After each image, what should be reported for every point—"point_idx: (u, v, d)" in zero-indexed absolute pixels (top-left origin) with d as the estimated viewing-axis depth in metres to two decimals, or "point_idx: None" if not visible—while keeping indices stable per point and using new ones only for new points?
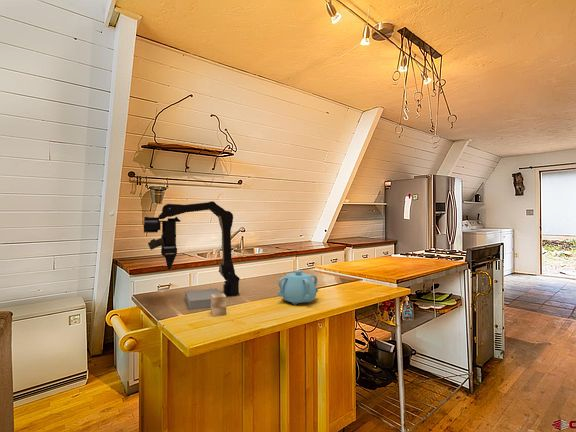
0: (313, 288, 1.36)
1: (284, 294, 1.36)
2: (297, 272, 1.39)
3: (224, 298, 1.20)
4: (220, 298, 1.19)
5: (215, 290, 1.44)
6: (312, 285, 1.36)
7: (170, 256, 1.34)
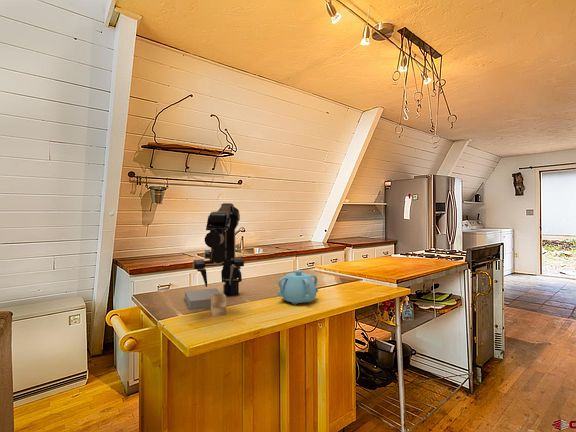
0: (313, 288, 1.36)
1: (284, 294, 1.36)
2: (297, 272, 1.39)
3: (224, 298, 1.20)
4: (220, 298, 1.19)
5: (215, 290, 1.44)
6: (312, 285, 1.36)
7: None
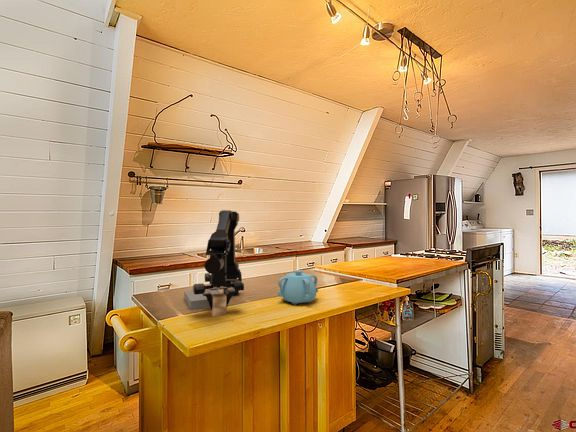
0: (313, 288, 1.36)
1: (284, 294, 1.36)
2: (297, 272, 1.39)
3: (224, 298, 1.20)
4: (220, 298, 1.19)
5: (214, 290, 1.44)
6: (312, 285, 1.36)
7: None
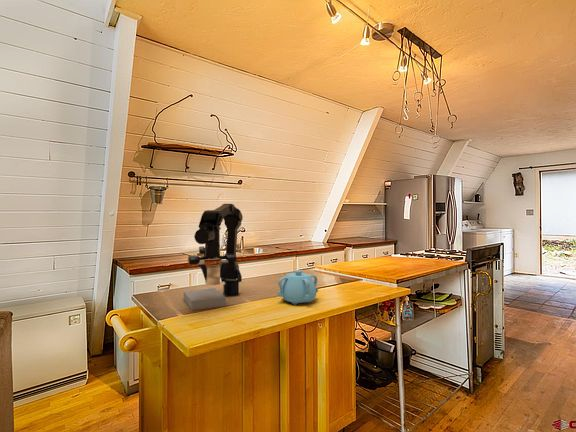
0: (313, 288, 1.36)
1: (284, 294, 1.36)
2: (297, 272, 1.39)
3: (218, 268, 1.27)
4: (214, 268, 1.26)
5: (214, 290, 1.44)
6: (312, 285, 1.36)
7: None
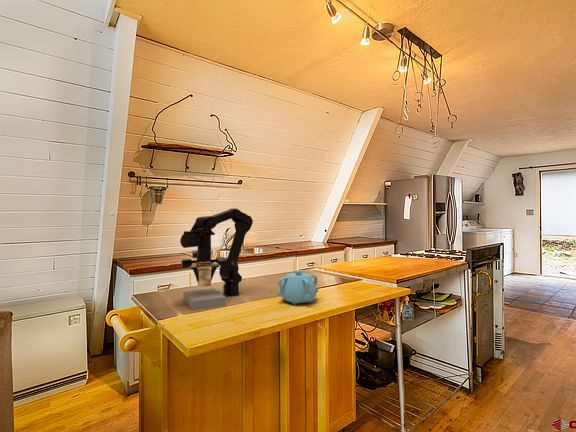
0: (313, 288, 1.36)
1: (284, 294, 1.36)
2: (297, 272, 1.39)
3: (209, 271, 1.35)
4: (205, 271, 1.35)
5: (214, 290, 1.44)
6: (312, 285, 1.36)
7: None
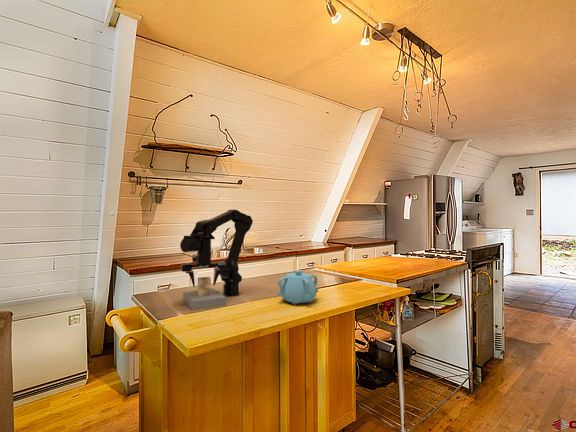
0: (313, 288, 1.36)
1: (284, 294, 1.36)
2: (297, 272, 1.39)
3: (209, 280, 1.35)
4: (205, 280, 1.35)
5: (213, 290, 1.44)
6: (312, 285, 1.36)
7: None
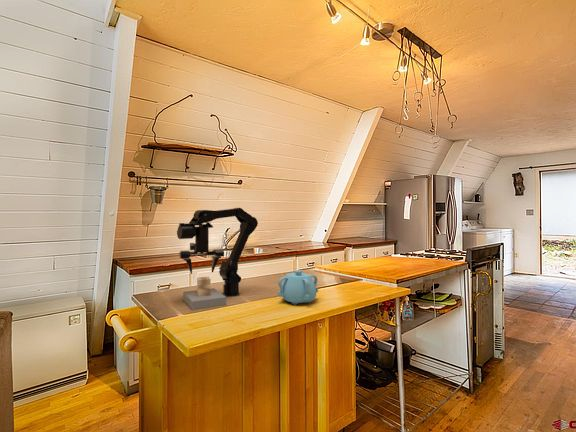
0: (313, 288, 1.36)
1: (284, 294, 1.36)
2: (297, 272, 1.39)
3: (208, 280, 1.35)
4: (205, 280, 1.35)
5: (213, 290, 1.44)
6: (312, 285, 1.36)
7: None
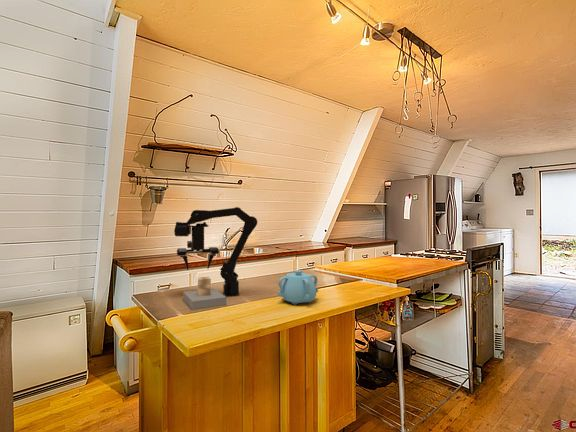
0: (313, 288, 1.36)
1: (284, 294, 1.36)
2: (297, 272, 1.39)
3: (209, 280, 1.36)
4: (205, 280, 1.35)
5: (213, 290, 1.44)
6: (312, 285, 1.36)
7: None
